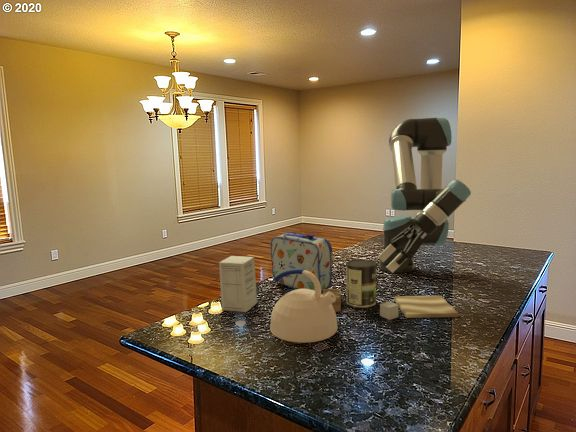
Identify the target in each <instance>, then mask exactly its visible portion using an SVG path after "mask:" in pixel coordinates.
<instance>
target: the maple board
mask: <svg viewBox="0 0 576 432" xmlns="http://www.w3.org/2000/svg"><path fill="white" fill-rule="evenodd" d="M394 301H395V304H398V305H399V309H400V310H401V312H402V314H403V315H404V317H405V318H406V319H408V318H409V319H416V318H420V319H421V318H422V317H425V318H459V312H458V311H457V310H456V309H455V308H454V307H453V306H452V305H451V304H449V302H447V301H446V299H445V298H444V297H443V296H441V295H405V296H403V295H401V296H399V295H397V296H394Z"/></svg>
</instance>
